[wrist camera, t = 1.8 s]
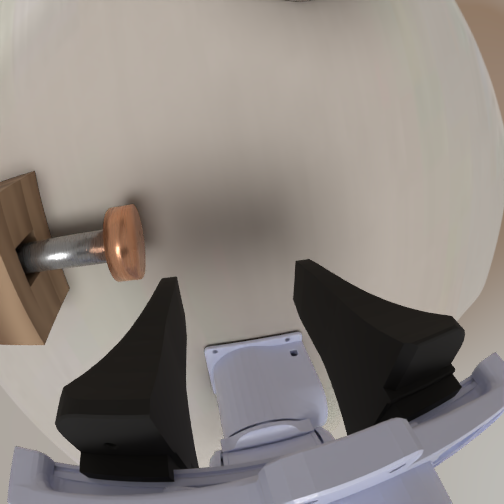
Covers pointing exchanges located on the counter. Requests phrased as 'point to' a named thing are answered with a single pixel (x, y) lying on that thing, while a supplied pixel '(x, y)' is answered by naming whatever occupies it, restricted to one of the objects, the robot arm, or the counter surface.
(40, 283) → the bearing block
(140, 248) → the copper capped shaft
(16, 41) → the counter surface
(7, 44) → the counter surface
